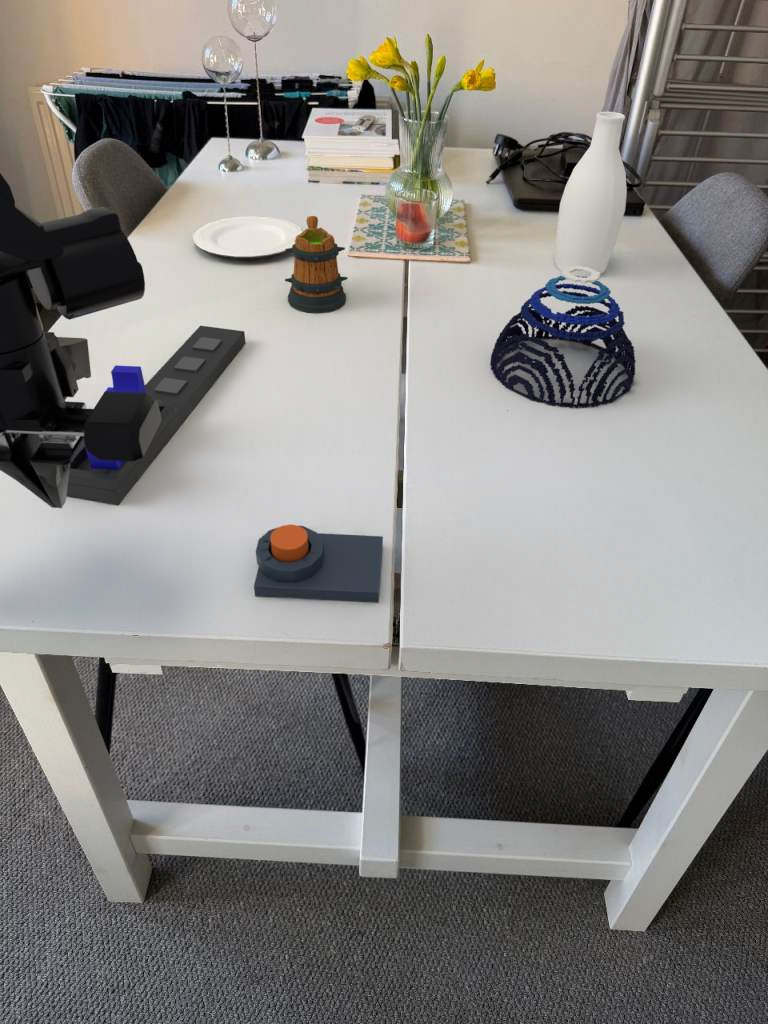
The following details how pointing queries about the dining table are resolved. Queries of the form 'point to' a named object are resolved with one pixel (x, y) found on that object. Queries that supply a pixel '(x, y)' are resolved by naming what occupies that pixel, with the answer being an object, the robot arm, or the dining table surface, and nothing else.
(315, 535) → the switch block
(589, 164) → the bottle
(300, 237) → the mug
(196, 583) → the dining table surface
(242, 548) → the dining table surface
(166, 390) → the power strip
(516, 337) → the decorative bowl
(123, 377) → the cable clip
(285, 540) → the power button
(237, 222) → the plate
